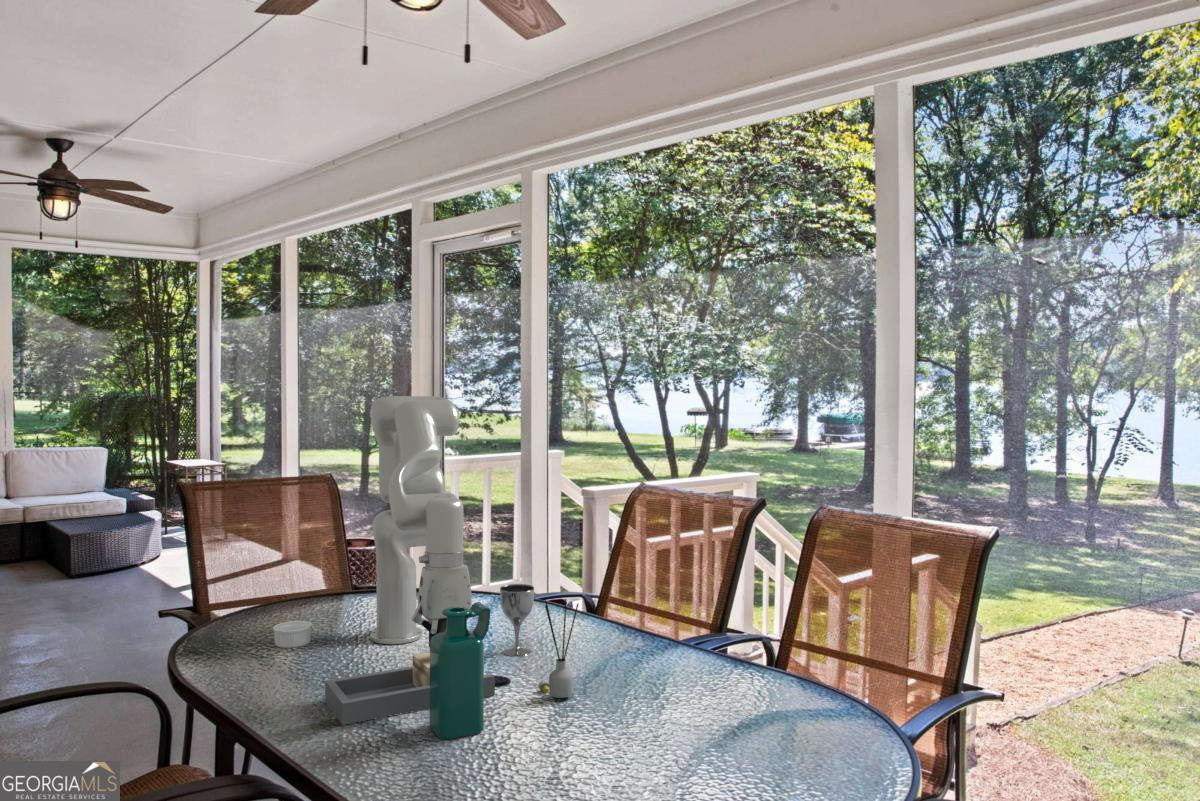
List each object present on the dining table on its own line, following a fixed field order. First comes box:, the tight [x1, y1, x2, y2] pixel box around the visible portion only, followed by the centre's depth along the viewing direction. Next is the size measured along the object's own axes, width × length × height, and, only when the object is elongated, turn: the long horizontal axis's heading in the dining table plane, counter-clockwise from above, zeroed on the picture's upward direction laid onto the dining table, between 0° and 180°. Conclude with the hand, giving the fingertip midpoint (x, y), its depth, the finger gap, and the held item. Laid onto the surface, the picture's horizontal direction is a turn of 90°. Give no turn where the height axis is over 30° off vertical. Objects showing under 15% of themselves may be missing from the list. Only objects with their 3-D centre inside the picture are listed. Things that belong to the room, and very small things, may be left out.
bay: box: [324, 665, 496, 726], centre depth 169 cm, size 14×30×4 cm, turn 120°
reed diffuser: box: [538, 596, 579, 699], centre depth 169 cm, size 10×7×20 cm
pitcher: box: [429, 601, 492, 740], centre depth 154 cm, size 10×8×22 cm
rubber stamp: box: [412, 618, 447, 687], centre depth 172 cm, size 10×10×14 cm
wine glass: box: [499, 583, 535, 657], centre depth 199 cm, size 8×8×15 cm
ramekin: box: [272, 620, 313, 649], centre depth 205 cm, size 9×9×4 cm
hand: (444, 649), depth 172 cm, fingers closed on rubber stamp, 3 cm apart
